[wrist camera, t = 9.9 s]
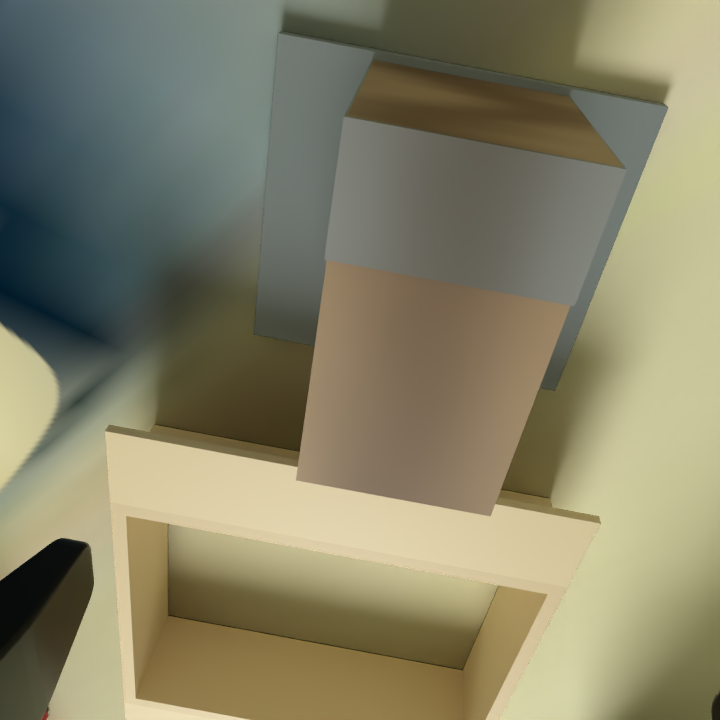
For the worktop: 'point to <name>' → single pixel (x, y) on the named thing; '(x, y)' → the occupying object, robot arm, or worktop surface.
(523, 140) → the gray and brown box
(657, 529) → the worktop surface
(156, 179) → the worktop surface
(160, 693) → the beige open box
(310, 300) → the mat
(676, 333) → the worktop surface
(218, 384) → the worktop surface
